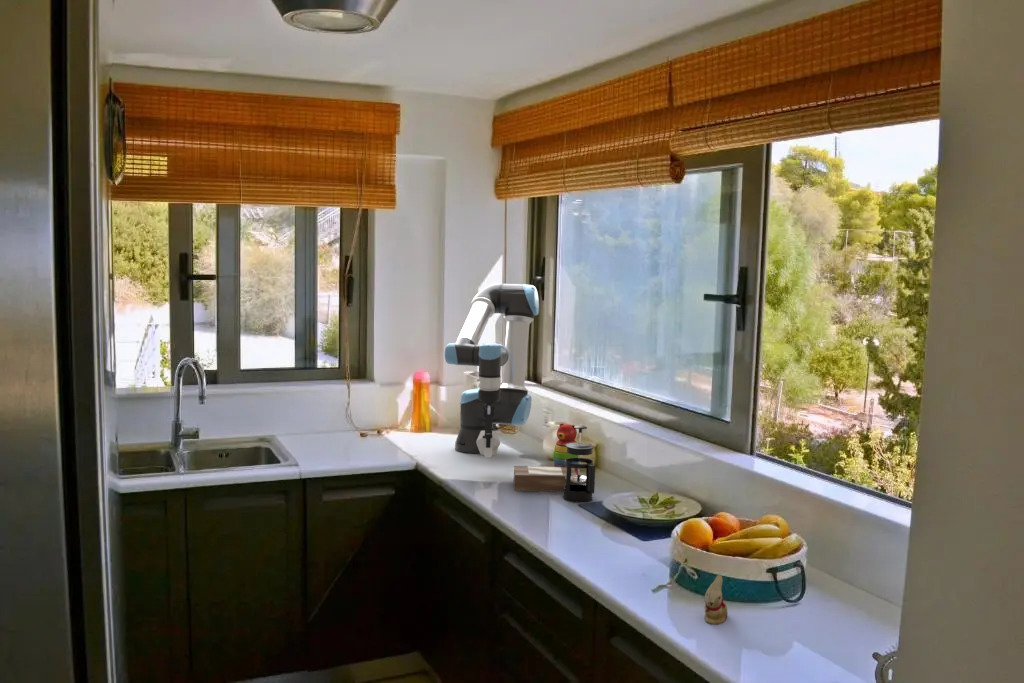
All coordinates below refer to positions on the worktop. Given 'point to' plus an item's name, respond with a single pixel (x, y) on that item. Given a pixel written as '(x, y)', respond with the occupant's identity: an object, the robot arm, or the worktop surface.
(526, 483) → the block
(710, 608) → the chocolate bunny
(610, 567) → the worktop surface
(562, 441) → the stacking bear
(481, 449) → the die
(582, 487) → the french press
